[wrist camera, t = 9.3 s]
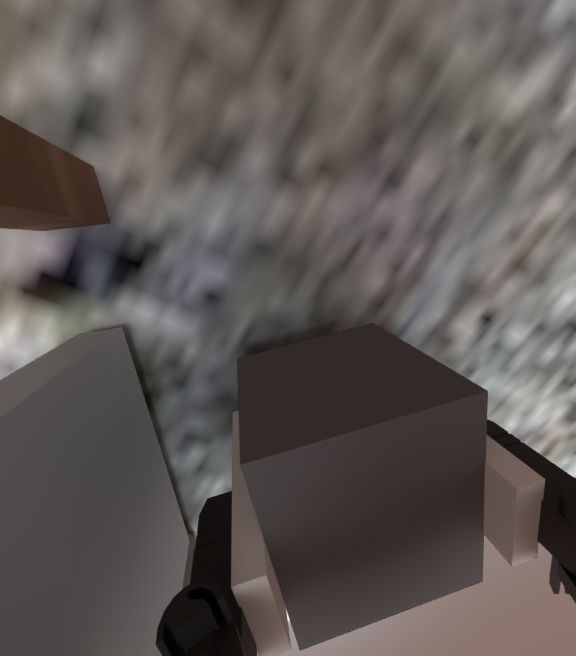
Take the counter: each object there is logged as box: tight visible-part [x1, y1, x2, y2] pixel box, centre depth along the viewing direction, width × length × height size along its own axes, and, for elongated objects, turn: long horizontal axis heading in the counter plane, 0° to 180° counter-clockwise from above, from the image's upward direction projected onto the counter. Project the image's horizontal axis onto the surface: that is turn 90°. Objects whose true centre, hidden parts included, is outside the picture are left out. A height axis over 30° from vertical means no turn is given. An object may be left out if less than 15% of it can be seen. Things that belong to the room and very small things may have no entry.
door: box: [0, 327, 195, 656], centre depth 9 cm, size 3×13×11 cm, turn 8°
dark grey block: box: [237, 323, 488, 650], centre depth 10 cm, size 7×6×6 cm
